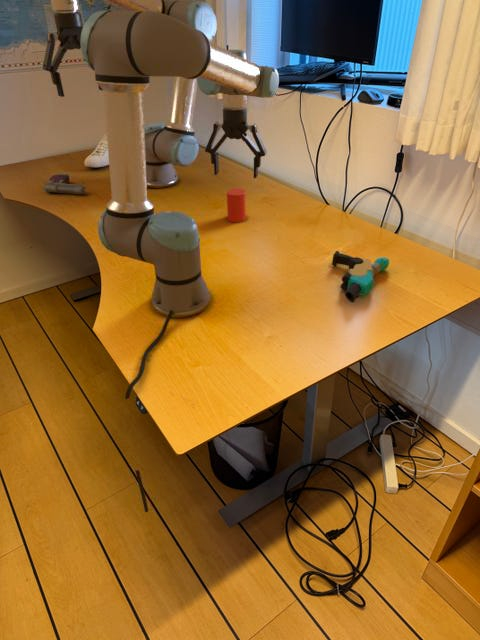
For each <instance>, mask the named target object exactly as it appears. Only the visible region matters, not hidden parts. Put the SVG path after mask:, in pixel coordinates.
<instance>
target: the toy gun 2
mask: <svg viewBox="0 0 480 640" xmlns="http://www.w3.org/2000/svg"><path fill="white" fill-rule="evenodd" d="M331 265H332V266H334V267H335V266H337V265H342V266H347V267H348V271H347V272H345V273H344V274H343V276H342V277H341V282H342V283H341V284H340V289H341V290H342V291H344V292H345V293H344V296H345V298H346V299H347V300H348V302H350V303H354V302H355V301H356V300H357V299H358V298H359V297H360V295H361V296H366V295H367V294H369V293H370V292H371V291H372V289H373V288H374V286H375V279H374V276H376V275H377V274H378V273H379V272H384V271H385V270H386V269H388V268H389V265H390V259H389V258H388V257H386V256H385V257H384V256H380V257H378V258H376V259H375V260H374V263H373V262H372V260H370V259H368V258H362V257H358V256H357V257H353V256H351V255H348V254H345V253H342V252H341V253H340V251H339V250H336V251H335V252H334V254H333V255H332V262H331Z"/></svg>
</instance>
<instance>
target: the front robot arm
mask: <svg viewBox="0 0 480 640" xmlns="http://www.w3.org/2000/svg"><path fill="white" fill-rule="evenodd" d="M80 51H81V55H82V58H83V60H84V61H86V65H87V66H88V68H90V69H91V70H92V71H94V78H95V84H97V86H98V85H99V86H100V87H101V88H102V89H103V101H104V114H105V127H106V133H107V142H108V155H109V165H108V168H109V178H110V179H109V181H110V192H111V193H110V194H111V198H110V200H109V201H108V202H107V203H106V204H105V210H104V211H102V213H101V215H100V219H99V220H98V223H97V232H98V237H99V240H100V242H101V244H102V246H103V247H104V248H105V249H106V250H108V251H109V252H111V253H113V254H116V255H118V256H120V257H122V258H123V257H126V258H129V259H133V260H137V261H140V262H144V263H147V264H149V265H152V266H153V268H154V274H155V275H154V276H155V281H154V284H153V290H152V294H151V305H152V308H153V310H154V311H155V312H156V313H157V314H159V315H160V316H163V317H166V318H165V321H164V323H163V326H162V328H161V330H160V332H159V334H158V336H157V337H156V338H155V339H154V340H153V341H152V343H150V345H149V346H148V347H147V348H146V349H145V351H144V353H143V355H142V357H141V360H140V361H141V362H140V366H139V371H138V373H137V375H136V377H135V378H134V379H133V380H132V381H131V382H130V384H129V385H128V386H127V389H126V391H125V395H124V396H125V397H124V399H125V400H128V399H129V398H130V397H131V392H132V390H133V388H134V386H135V385H136V384H137V383H138V382H139V381H140V379H141V378H142V376H143V374H144V370H145V366H146V360H147V357H148V355H149V353H150V352H151V350H152V349H153V348H154V347H155V346H156V345H157V344H158V343H159V341H160V340H161V339H162V338H163V336H164V334H165V333H166V330H167V328H168V325H169V323H170V320H171V319H183V318H185V319H186V318H190V317H194V316H196V315H199V314H201V313H202V312H204V311H205V310H207V308H208V307H209V306H210V303H211V294H210V293H211V292H210V290H209V288H208V286H207V284H206V281H205V278H204V277H203V275H202V262H201V261H202V259H201V247H200V246H201V237H200V233H199V228H198V227H199V226H198V224H197V222H196V221H195V220H194V218H192V216H190V215H188V214H185V213H183V212H180V211H173V210H172V211H160V212H157V213H155V209H154V208H155V205H154V203H153V202H152V201H151V200H150V199H149V198H148V187H147V178H146V154H145V129H144V125H145V110H144V109H145V108H144V105H145V104H144V92H145V90H146V89H147V88H148V87H149V86H150V85H151V83H150V77H174V76H175V77H184V78H187V79H196V78H197V88H198V89H199V91H201V93H203V94H204V95H206V96H215V95H218V94H221V97H222V98H221V99H222V100H221V101H222V103H221V104H222V107H223V108H222V123H220V122H219V121H216V122H215V123H213V125H212V131H211V135H210V137H209V139H208V142H207V144H206V147H205V149H204V152H205V153H207V154H210V163H211V165H213V173H214V176H217V175H218V174H219V173H220V166H219V165H220V164H219V153H218V152H217V151H218V150H219V149H220V147H221V146H222V145H223V144H224V142H225V141H226V139H227V138H228V139H230V140H233V139H235V140H242V141H243V142H244V143H245V144H246V146H247V147H248V149H250V151H251V152H252V154H253V155H254V157H253V179H257V178H258V176H259V168H260V167H261V165H262V157H265V156H266V155H267V152H268V151H267V150H266V149H267V148H266V147H265V144H264V143H263V140H262V138H261V136H260V134H259V131H258V124H257V123H254V124H248V108H247V106H248V102H247V101H248V97H253V98H254V97H255V98H261V99H263V98H267V99H271V98H273V97H274V96H275V95H276V94H277V92H278V88H279V84H280V76H279V72H278V70H277V69H276V68H275V67H273V66H268V65H259V64H256V63H254V62H252V61H250V60H247V53H246V51H245V50H242V49H226V48H224V47H222V46H219V45H218V44H215V43H213V42H211V41H209V40H208V38H207V36H206V35H205V34H204V33H203V32H201V31H199V30H197V29H195V28H194V27H192V26H190V25H188V24H186V23H184V22H182V21H179V20H177V19H175V18H173V17H170V16H168V15H165V14H162V13H159V12H154V11H125V10H121V9H106V10H100V11H99V10H98V11H95V12H93V13H92V14H91V15H89V17H88V19H87V20H86V21H85V22H84V24H83V29H82V33H81V48H80ZM221 129H222V131H223V132H224V134H223V135H222V136H221V138H220V139H219V140H218V141H217V142H216V144H215V146H213V145H214V142H215V141H216V137H217V135H218V133H219V131H220V130H221ZM247 131H249V132H250V133H251V134H252V135H251V136H252V137H253V139H254V141H255V142H254V141H252V139H251V138H250V136H249V134H248V132H247ZM255 143H256V144H255ZM212 147H213V148H212ZM134 471H135V475H136V476H135V477H136V479H137V483H138V487H139V493H140V495H141V499H142V503H143V508H144V513H148V512H149V508H148V502H147V497H146V493H145V490H144V489H145V488H144V484H143V480H142V475H141V471H140V470H139V469H138V470H136V469H135V470H134Z"/></svg>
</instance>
